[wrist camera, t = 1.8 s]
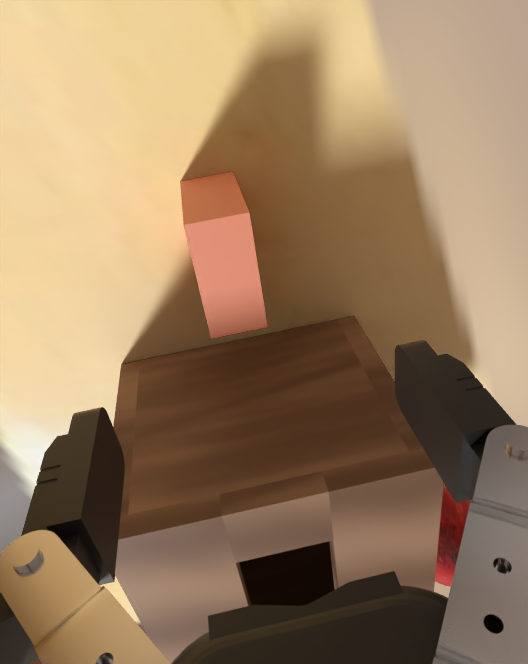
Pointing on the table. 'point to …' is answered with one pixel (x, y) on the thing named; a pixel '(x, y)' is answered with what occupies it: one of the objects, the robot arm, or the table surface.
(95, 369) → the table surface
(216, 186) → the tall salmon pink box
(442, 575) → the red pomegranate
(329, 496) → the box
